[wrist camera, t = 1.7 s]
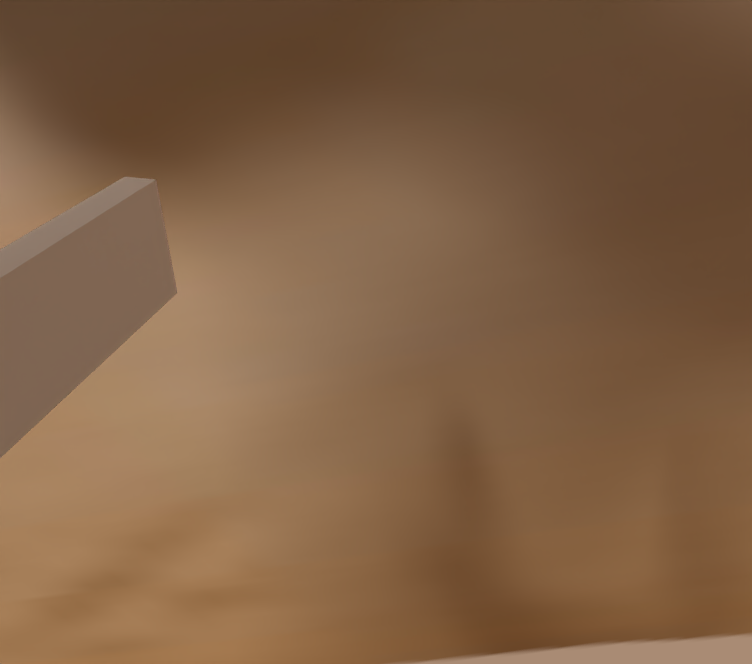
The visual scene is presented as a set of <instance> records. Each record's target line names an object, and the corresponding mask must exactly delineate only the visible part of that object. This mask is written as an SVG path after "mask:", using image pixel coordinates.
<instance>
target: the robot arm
mask: <svg viewBox="0 0 752 664" xmlns="http://www.w3.org/2000/svg"><path fill="white" fill-rule="evenodd" d="M175 294H177V288H176V283H175V278H174V272H173V267H172V262H171V256H170V251H169V246H168V240H167V235H166V230H165V224H164V219H163V214H162V208H161V203H160V198H159V192H158V187H157V182H156V179H145V178H133V177H123V178H122V179H120V180H118V181H117V182H115V183H113V184H111V185H110V186H108V187H106V188H105V189H103V190H101V191H99V192H98V193H96V194H94V195H93V196H91V197H89V198H87V199H86V200H84V201H82V202H81V203H79V204H77V205H75V206H74V207H72V208H70V209H69V210H67V211H65V212H64V213H62V214H60V215H58V216H57V217H55V218H53V219H52V220H50V221H48V222H46V223H45V224H43V225H41V226H40V227H38V228H36V229H34V230H33V231H31V232H29V233H28V234H26V235H24V236H22V237H21V238H19V239H17V240H16V241H14V242H12V243H10V244H9V245H7V246H5V247H4V248H2V249H0V458H1V457H2V456H3V455H4V454H5V453H6V452H7V451H8V450H10V449H11V448H12V447H13V446H14V445H15V444H16V443H17V442H18V441H19V440H20V439H21V438H22V437H23V436H24V435H26V434H27V433H28V432H29V431H30V430H31V429H32V428H33V427H34V426H35V425H36V424H37V423H38V422H39V421H41V420H42V419H43V418H44V417H45V416H46V415H47V414H48V413H49V412H50V411H51V410H52V409H53V408H54V407H56V406H57V405H58V404H59V403H60V402H61V401H62V400H63V399H64V398H65V397H66V396H67V395H68V394H69V393H71V392H72V391H73V390H74V389H75V388H76V387H77V386H78V385H79V384H80V383H81V382H82V381H83V380H84V379H86V378H87V377H88V376H89V375H90V374H91V373H92V372H93V371H94V370H95V369H96V368H97V367H98V366H99V365H101V364H102V363H103V362H104V361H105V360H106V359H107V358H108V357H109V356H110V355H111V354H112V353H113V352H114V351H116V350H117V349H118V348H119V347H120V346H121V345H122V344H123V343H124V342H125V341H126V340H127V339H128V338H129V337H130V336H132V335H133V334H134V333H135V332H136V331H137V330H138V329H139V328H140V327H141V326H142V325H143V324H144V323H145V322H147V321H148V320H149V319H150V318H151V317H152V316H153V315H154V314H155V313H156V312H157V311H158V310H159V309H160V308H162V307H163V306H164V305H165V304H166V303H167V302H168V301H169V300H170V299H171V298H172V297H173V296H174V295H175Z"/></svg>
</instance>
